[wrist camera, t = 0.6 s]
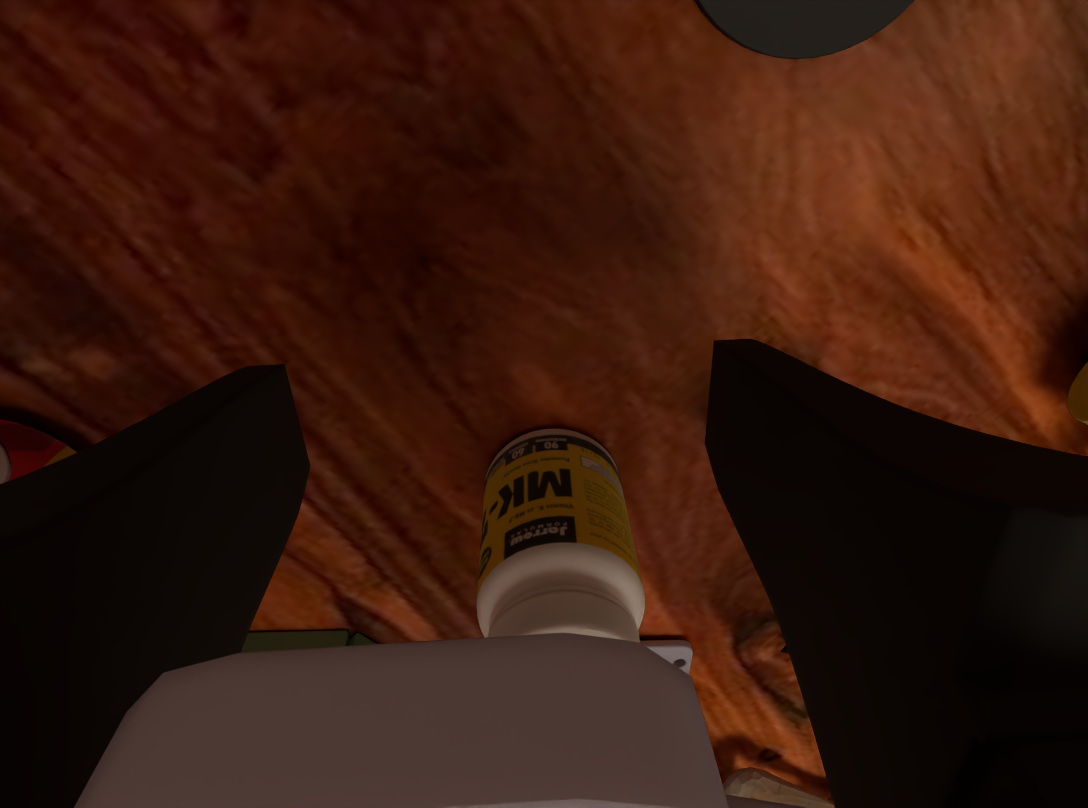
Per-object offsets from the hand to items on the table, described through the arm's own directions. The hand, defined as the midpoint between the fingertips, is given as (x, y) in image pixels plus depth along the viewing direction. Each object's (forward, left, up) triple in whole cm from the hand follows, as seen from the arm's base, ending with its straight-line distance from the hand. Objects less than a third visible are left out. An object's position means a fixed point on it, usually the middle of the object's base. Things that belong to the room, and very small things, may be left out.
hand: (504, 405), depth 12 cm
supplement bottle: (-9, -1, -10) cm, 13 cm away
